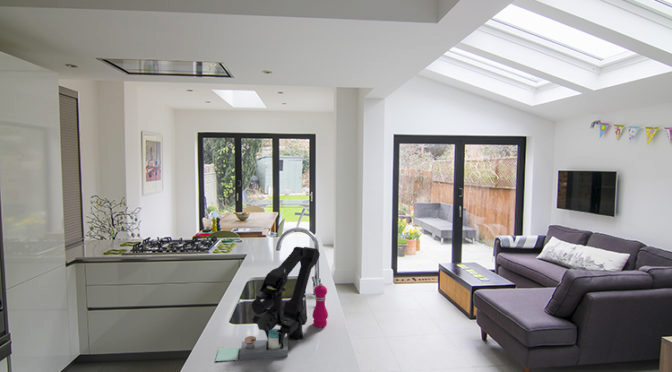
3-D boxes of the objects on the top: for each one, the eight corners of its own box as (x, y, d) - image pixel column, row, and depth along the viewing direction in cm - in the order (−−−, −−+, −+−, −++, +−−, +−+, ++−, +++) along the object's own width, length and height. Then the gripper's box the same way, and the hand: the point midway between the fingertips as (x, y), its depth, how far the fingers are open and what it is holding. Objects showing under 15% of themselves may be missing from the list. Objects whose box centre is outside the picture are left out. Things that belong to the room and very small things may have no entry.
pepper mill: (310, 322, 166) (310, 280, 164) (324, 319, 169) (325, 279, 167) (315, 329, 159) (316, 286, 158) (330, 326, 162) (330, 284, 161)
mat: (219, 349, 141) (219, 348, 141) (239, 347, 143) (239, 346, 143) (215, 362, 132) (215, 360, 132) (237, 360, 134) (237, 359, 134)
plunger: (245, 350, 141) (244, 336, 140) (256, 349, 142) (256, 335, 141) (244, 356, 136) (244, 342, 136) (255, 355, 137) (255, 341, 137)
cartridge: (265, 351, 140) (265, 332, 139) (274, 346, 144) (274, 327, 144) (275, 355, 137) (275, 336, 137) (283, 349, 142) (283, 330, 141)
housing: (242, 347, 143) (242, 341, 143) (286, 344, 146) (286, 338, 146) (240, 360, 134) (240, 353, 134) (287, 356, 137) (287, 350, 137)
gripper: (242, 306, 137) (242, 345, 138) (281, 318, 128) (281, 359, 129) (261, 297, 146) (261, 333, 148) (299, 307, 137) (298, 345, 139)
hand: (274, 342), depth 140 cm, fingers closed on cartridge, 5 cm apart
